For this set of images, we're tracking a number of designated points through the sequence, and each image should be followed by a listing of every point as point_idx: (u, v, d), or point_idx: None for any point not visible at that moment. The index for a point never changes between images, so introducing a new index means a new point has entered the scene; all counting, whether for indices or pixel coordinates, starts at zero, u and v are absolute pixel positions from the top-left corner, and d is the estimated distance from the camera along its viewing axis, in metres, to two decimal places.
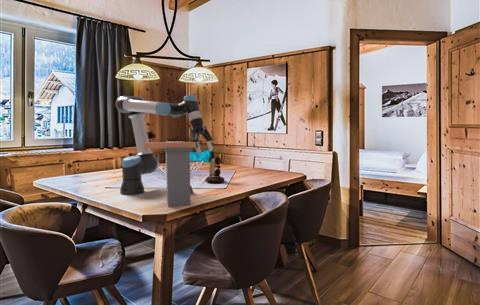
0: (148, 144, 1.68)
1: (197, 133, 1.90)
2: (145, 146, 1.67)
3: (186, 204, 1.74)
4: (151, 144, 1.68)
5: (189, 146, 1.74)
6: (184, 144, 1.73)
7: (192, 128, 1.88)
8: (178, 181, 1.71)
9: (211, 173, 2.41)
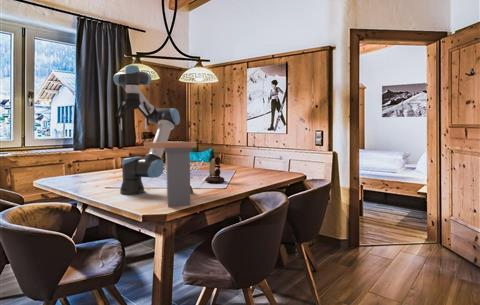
0: (148, 144, 1.68)
1: (125, 109, 1.80)
2: (145, 146, 1.67)
3: (186, 204, 1.74)
4: (151, 144, 1.68)
5: (189, 146, 1.74)
6: (184, 144, 1.73)
7: (120, 103, 1.80)
8: (178, 181, 1.71)
9: (211, 173, 2.41)
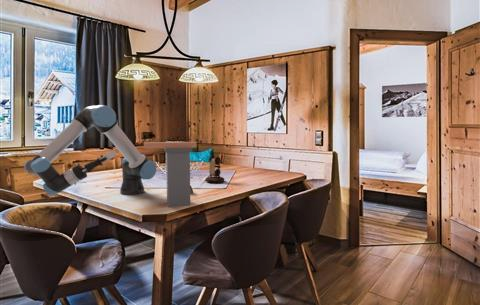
0: (148, 144, 1.68)
1: None
2: (145, 146, 1.67)
3: (186, 204, 1.74)
4: (151, 144, 1.68)
5: (189, 146, 1.74)
6: (184, 144, 1.73)
7: None
8: (178, 181, 1.71)
9: (211, 173, 2.41)
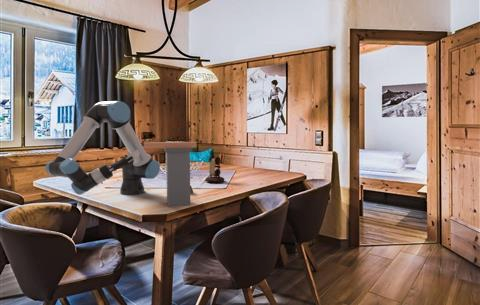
0: (148, 144, 1.68)
1: None
2: (145, 146, 1.67)
3: (186, 204, 1.74)
4: (151, 144, 1.68)
5: (189, 146, 1.74)
6: (184, 144, 1.73)
7: None
8: (178, 181, 1.71)
9: (211, 173, 2.41)
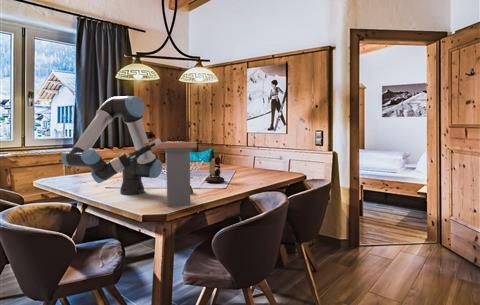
0: (148, 144, 1.68)
1: None
2: (145, 146, 1.67)
3: (186, 204, 1.74)
4: None
5: (189, 146, 1.74)
6: (184, 144, 1.73)
7: None
8: (178, 181, 1.71)
9: (211, 173, 2.41)
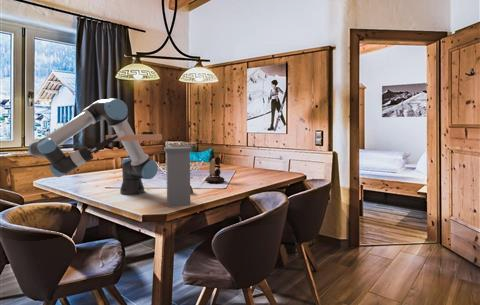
0: (110, 136, 1.61)
1: None
2: None
3: (186, 204, 1.74)
4: None
5: (154, 139, 1.68)
6: (149, 137, 1.67)
7: None
8: (178, 181, 1.71)
9: (211, 173, 2.41)
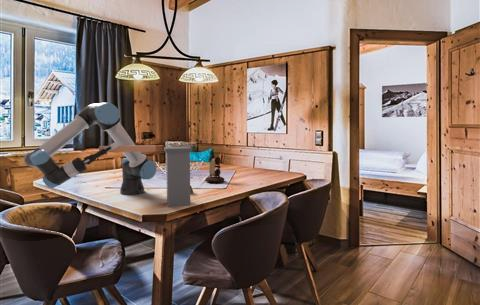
0: None
1: None
2: None
3: (186, 204, 1.74)
4: None
5: (148, 150, 1.68)
6: (142, 148, 1.67)
7: None
8: (178, 181, 1.71)
9: (211, 173, 2.41)
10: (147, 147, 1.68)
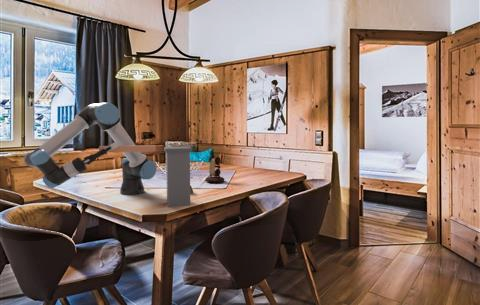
0: None
1: None
2: None
3: (186, 204, 1.74)
4: None
5: (148, 150, 1.68)
6: (142, 148, 1.67)
7: None
8: (178, 181, 1.71)
9: (211, 173, 2.41)
10: (147, 147, 1.68)
